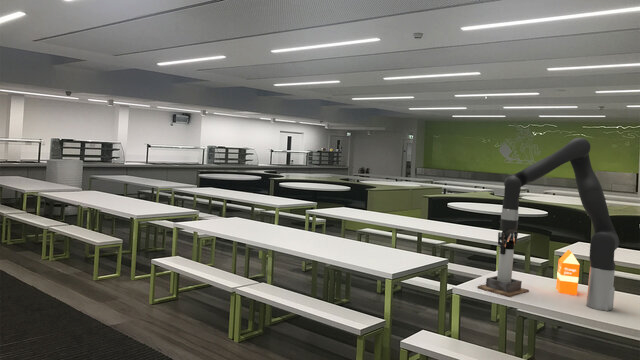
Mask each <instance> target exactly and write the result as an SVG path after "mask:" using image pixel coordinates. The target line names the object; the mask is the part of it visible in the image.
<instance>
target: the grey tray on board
mask: <svg viewBox="0 0 640 360" xmlns="http://www.w3.org/2000/svg"><path fill="white" fill-rule="evenodd" d="M522 282H523V281H522V280H519V279H514V278H511V283H505V282H502V281H498V280H497V275H495V276H491V277H486V282H485V283H484V284H481V285H477V289H480V290H482V291H487V292H490V293H493V294H495V295H496V294H497V295H500V296H504V297H506V298H512V297H516V296H519V295H523V294H527V293H529V292H530V290H529V289H527V288H525V287H524V288H523V287H522Z"/></svg>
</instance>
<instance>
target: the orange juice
mask: <svg viewBox="0 0 640 360" xmlns="http://www.w3.org/2000/svg"><path fill="white" fill-rule="evenodd" d="M557 263H558V265H557V273H556V285H555V289H556V290H557V292H558V293H559V294H564V295H565V294H566V295H572V296H573V295H574V296H577V295H578V287H579V276H580V265H581V264H580V263H579V261H578V260H577V257H575V255H574V253H573V252H572V251H571V250H570V249H567V250H566V251H565V252H564V253H563V255H562V256H561V257H560V258H558V262H557Z"/></svg>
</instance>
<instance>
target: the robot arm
mask: <svg viewBox="0 0 640 360" xmlns="http://www.w3.org/2000/svg"><path fill="white" fill-rule="evenodd" d="M590 152H591V143H590V142H589V141H588V140H587V139H586V138H583V137H576V138H573V139H571V140H570V141H569V142H568V143H567V144H565V145H564V146H563V147H561V148H559V149H558V150H557V151H555V152H553V153H552V154H550V155H548V156H546V157H544V158H542V159H540V160H537V161H536V162H534V163H532V164H531V165H528V166H527V167H525V168H524V169H522V170H520V171H518V172H516V173H513V174H511V175H509V176H507V177H506V178H505V179H504V182H503V185H504V192H503V193H504V194H503V195H504V196H503V199H502V208H501V215H500V223H499V224H500V226H499V227H500V228H501V229H502V231H501V232H500V231H498V232H497V234H498V235H497V244H498V245H499V247H500V246H501V249H500V248H499V250H500V254H503V255H505V252H506V244H507V243H508V242H509V241H513V242H514V246H515V245H517V242H518V237H519V235H518V234H519V232H518V231H517V230H518V226H519V225H518V224H519V215H520V214H519V209H520V207H519V205H520V194H521V188H522V187H523V186H526V185H528V184H530V183H532V182H535V181H537V180H539V179H540V178H543V177H544V176H546V175H548V174H549V173H551V172H552V171H554V170H555V169H557V168H559V167H560V166H562V165H564V164H565V163H568V162H569V163H570V164H571V167H572V169H573V173H574V177H575V182H576V183H575V184H576V187H577V191H578V195H579V198H580V199H579V200H580V201H581V202H580V203H581V204H582V207H583V208H584V210H585V212H586V214H587V216H588V217H589V218H590V220H591V223H592V226H593V229H594V230H593V231H594V234H593V235H592V236H591V240H590V243H589V244H590V245H589V263H590V264H589V274H588V284H587V295H586V306H587V307H589V308H592V309H595V310H599V311H606V312H608V311H610V310H611V311H612V310H613V309H614V302H615V301H614V300H615V291H616V288H615V286H614V283H615V282H614V281H615V272H616V263H615V251H616V250H618V248H619V245H620V239H619V236H618V234H617V232H616V230H615V227H614V225H613V222H612V219H611V217H610V212H609V208H608V205H607V200H606V196H605V194H604V191H603V186H602V185H601V182H600V180H599V179H598V177H597V174H596V173H595V171H594V169H593V167H592V164H591V163H592V162H591V160H590V159H591V158H590ZM500 242H501V243H500ZM504 242H505V243H504Z"/></svg>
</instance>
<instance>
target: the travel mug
mask: <svg viewBox="0 0 640 360" xmlns="http://www.w3.org/2000/svg"><path fill="white" fill-rule="evenodd" d="M500 243H501V241H500ZM504 243H505V242H504ZM500 249H501V246H500V245H499V252H498V263H497V275H496V276H497V280H498V281H502V282H505V283H511V279H513V278H512V276H513V265H514V252H515V245H514V242H513V241H509V242H508V243H507V244H506V252H505V255H503V254H500Z"/></svg>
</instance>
